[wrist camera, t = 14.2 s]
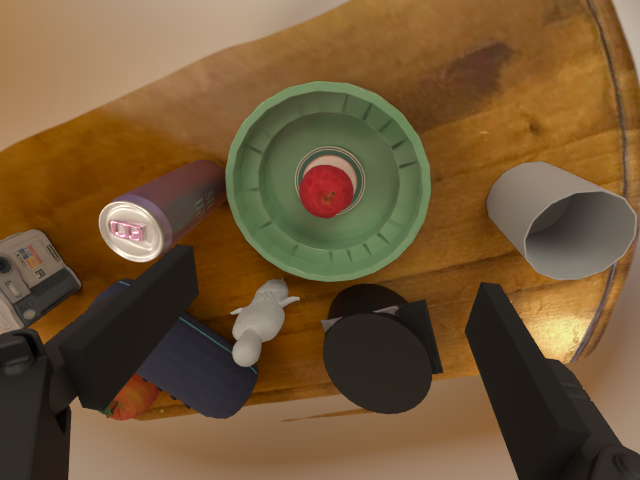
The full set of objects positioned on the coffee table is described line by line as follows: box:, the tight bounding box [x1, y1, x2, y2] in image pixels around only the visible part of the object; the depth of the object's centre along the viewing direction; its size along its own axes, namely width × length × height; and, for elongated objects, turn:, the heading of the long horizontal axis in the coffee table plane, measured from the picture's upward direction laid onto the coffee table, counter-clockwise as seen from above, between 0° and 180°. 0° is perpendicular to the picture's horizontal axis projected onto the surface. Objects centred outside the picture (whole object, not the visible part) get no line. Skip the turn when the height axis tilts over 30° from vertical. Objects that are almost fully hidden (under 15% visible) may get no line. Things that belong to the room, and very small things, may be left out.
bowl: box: [225, 81, 431, 282], centre depth 36 cm, size 21×21×6 cm
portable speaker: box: [87, 279, 258, 419], centre depth 47 cm, size 25×10×10 cm, turn 50°
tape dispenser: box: [321, 284, 443, 414], centre depth 45 cm, size 14×18×8 cm
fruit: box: [97, 373, 159, 420], centre depth 53 cm, size 10×10×10 cm
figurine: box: [231, 277, 300, 367], centre depth 39 cm, size 9×4×15 cm, turn 110°
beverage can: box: [99, 160, 227, 262], centre depth 34 cm, size 6×6×15 cm
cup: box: [486, 161, 637, 280], centre depth 32 cm, size 8×8×10 cm
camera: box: [0, 230, 82, 333], centre depth 45 cm, size 11×6×10 cm, turn 14°
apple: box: [295, 146, 365, 219], centre depth 35 cm, size 8×8×6 cm
